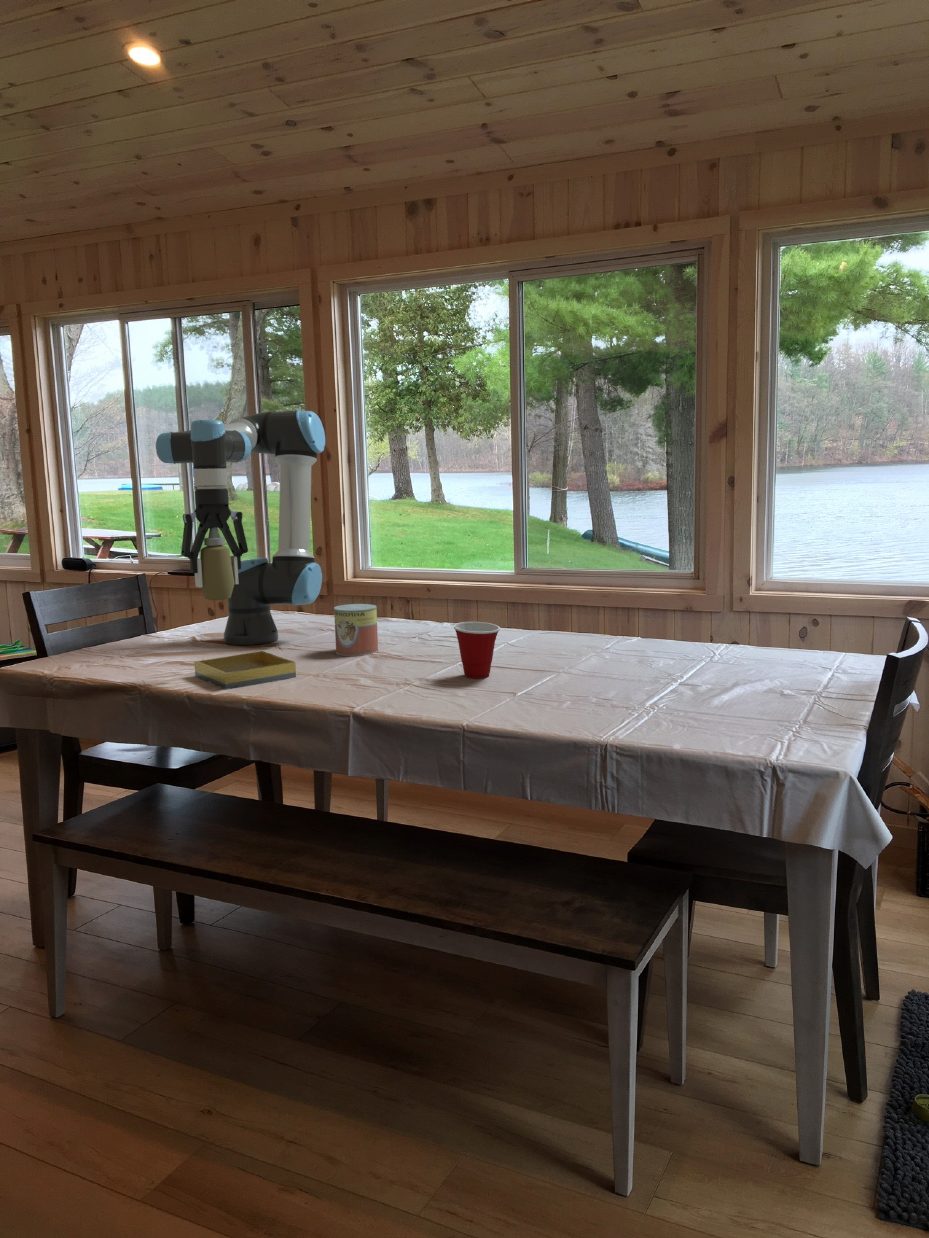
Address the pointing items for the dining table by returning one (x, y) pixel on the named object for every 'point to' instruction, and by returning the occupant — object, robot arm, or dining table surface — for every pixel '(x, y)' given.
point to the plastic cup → (476, 647)
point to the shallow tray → (244, 669)
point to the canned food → (356, 629)
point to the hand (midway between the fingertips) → (217, 585)
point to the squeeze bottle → (216, 568)
